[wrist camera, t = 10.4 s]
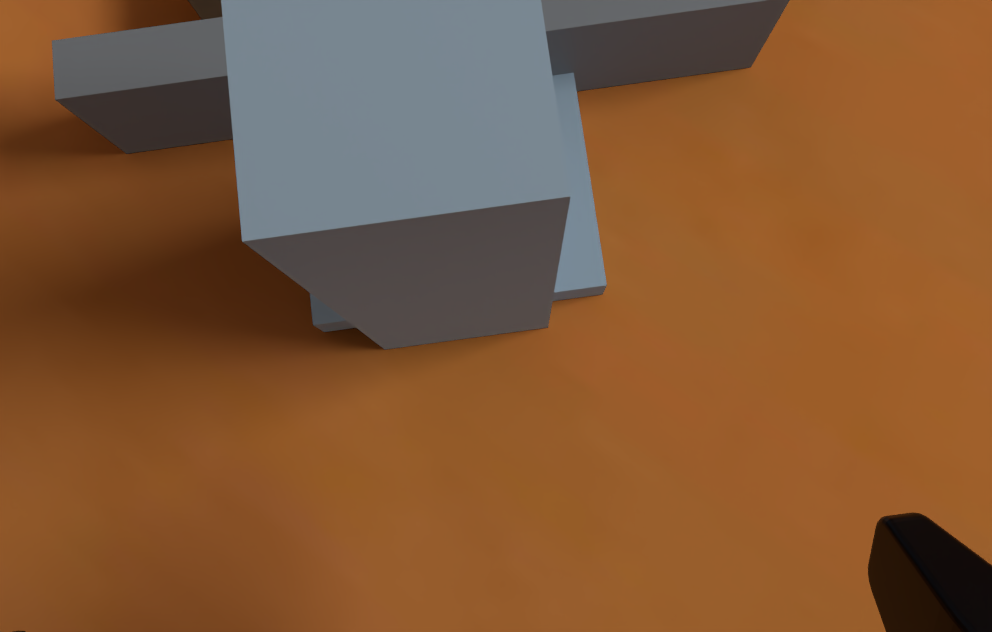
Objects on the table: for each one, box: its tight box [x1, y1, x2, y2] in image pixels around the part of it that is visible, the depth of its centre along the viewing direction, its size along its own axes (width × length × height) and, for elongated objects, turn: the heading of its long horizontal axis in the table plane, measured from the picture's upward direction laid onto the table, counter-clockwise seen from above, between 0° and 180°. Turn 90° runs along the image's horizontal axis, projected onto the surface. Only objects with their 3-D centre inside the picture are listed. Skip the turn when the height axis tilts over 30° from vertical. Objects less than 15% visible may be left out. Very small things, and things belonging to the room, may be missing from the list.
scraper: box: [52, 0, 789, 349], centre depth 14 cm, size 6×14×10 cm, turn 97°
